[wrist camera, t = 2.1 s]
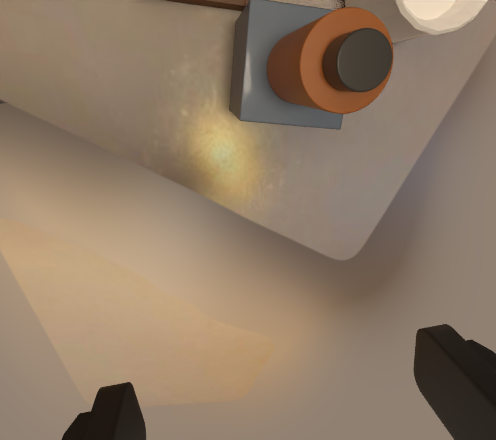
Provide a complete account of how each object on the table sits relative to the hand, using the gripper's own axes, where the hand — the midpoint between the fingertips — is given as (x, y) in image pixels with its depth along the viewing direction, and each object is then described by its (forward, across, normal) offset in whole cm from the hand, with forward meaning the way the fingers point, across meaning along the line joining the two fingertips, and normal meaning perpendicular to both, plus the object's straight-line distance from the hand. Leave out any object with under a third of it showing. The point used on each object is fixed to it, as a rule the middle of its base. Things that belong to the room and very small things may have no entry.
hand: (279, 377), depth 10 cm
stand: (+30, -6, -8) cm, 31 cm away
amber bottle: (+20, -6, -8) cm, 22 cm away
